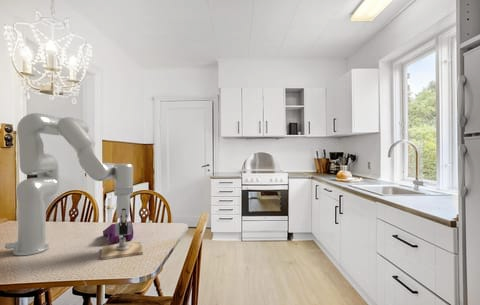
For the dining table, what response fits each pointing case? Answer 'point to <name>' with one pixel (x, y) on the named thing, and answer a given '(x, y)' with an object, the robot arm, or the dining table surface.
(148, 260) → the dining table surface
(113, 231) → the mounting bracket
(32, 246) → the robot arm
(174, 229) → the dining table surface
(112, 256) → the hub board
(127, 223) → the collar
